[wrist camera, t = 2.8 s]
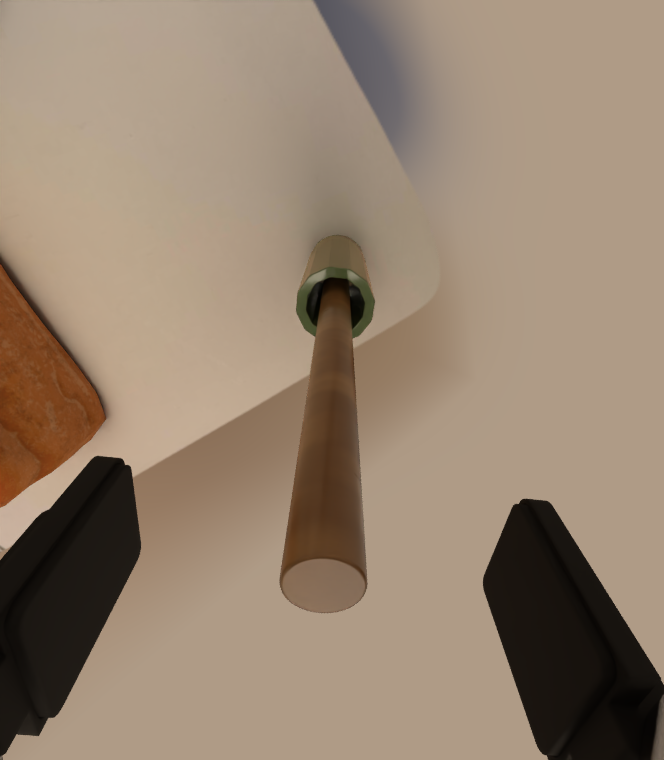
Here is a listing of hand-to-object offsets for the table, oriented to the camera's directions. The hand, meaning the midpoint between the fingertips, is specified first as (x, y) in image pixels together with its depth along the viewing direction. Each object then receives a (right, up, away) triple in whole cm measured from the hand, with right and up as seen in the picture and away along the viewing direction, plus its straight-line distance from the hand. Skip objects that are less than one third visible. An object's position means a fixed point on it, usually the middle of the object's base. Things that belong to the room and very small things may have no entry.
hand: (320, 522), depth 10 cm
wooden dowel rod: (+1, +13, +25) cm, 28 cm away
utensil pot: (+1, +13, +25) cm, 29 cm away
